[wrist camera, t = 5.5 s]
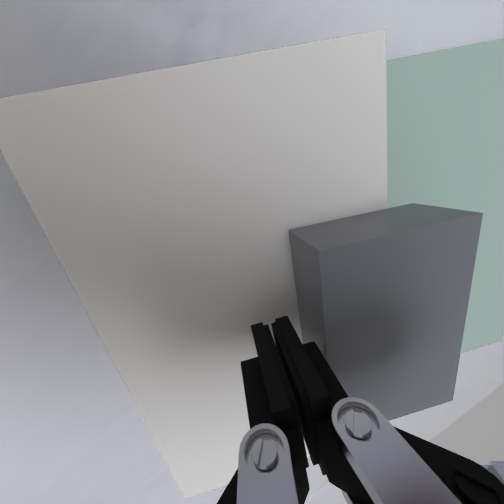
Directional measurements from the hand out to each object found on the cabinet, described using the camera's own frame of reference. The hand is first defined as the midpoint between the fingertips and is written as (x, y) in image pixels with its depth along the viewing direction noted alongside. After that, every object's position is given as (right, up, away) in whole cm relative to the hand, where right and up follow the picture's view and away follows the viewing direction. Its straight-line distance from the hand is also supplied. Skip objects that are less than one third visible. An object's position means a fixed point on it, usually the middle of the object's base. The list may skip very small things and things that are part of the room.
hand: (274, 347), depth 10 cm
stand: (-1, +2, +5) cm, 6 cm away
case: (+4, +2, +2) cm, 5 cm away
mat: (+13, +5, +6) cm, 15 cm away
